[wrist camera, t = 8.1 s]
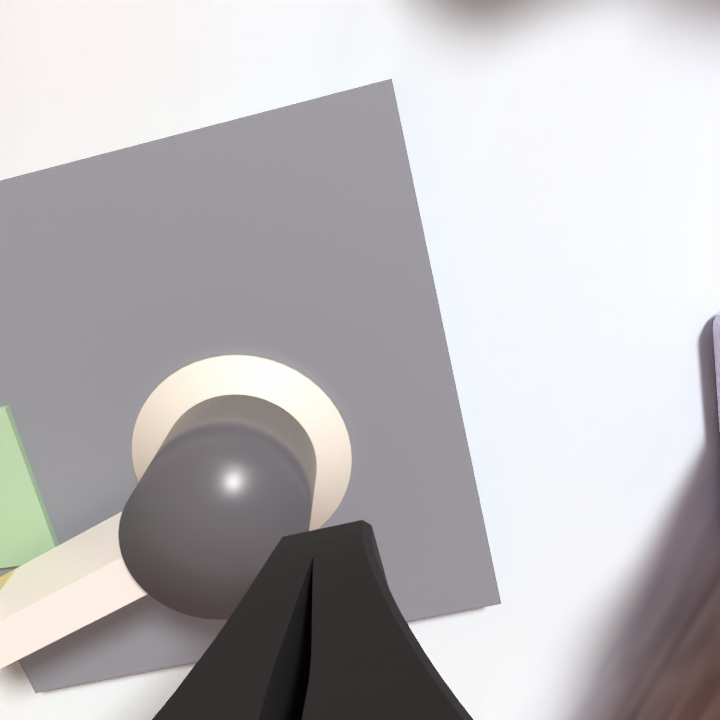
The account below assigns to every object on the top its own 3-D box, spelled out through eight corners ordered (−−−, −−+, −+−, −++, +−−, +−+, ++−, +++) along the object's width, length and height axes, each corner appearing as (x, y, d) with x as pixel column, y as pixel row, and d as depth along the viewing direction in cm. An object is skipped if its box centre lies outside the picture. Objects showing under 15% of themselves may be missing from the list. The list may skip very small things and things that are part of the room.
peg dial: (262, 366, 18) (239, 427, 15) (345, 489, 20) (341, 572, 16) (-38, 534, 20) (-123, 624, 17) (56, 636, 22) (-5, 740, 18)
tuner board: (390, 80, 17) (392, 78, 16) (495, 583, 23) (502, 607, 21) (-177, 228, 19) (-212, 235, 18) (48, 670, 24) (33, 697, 23)
